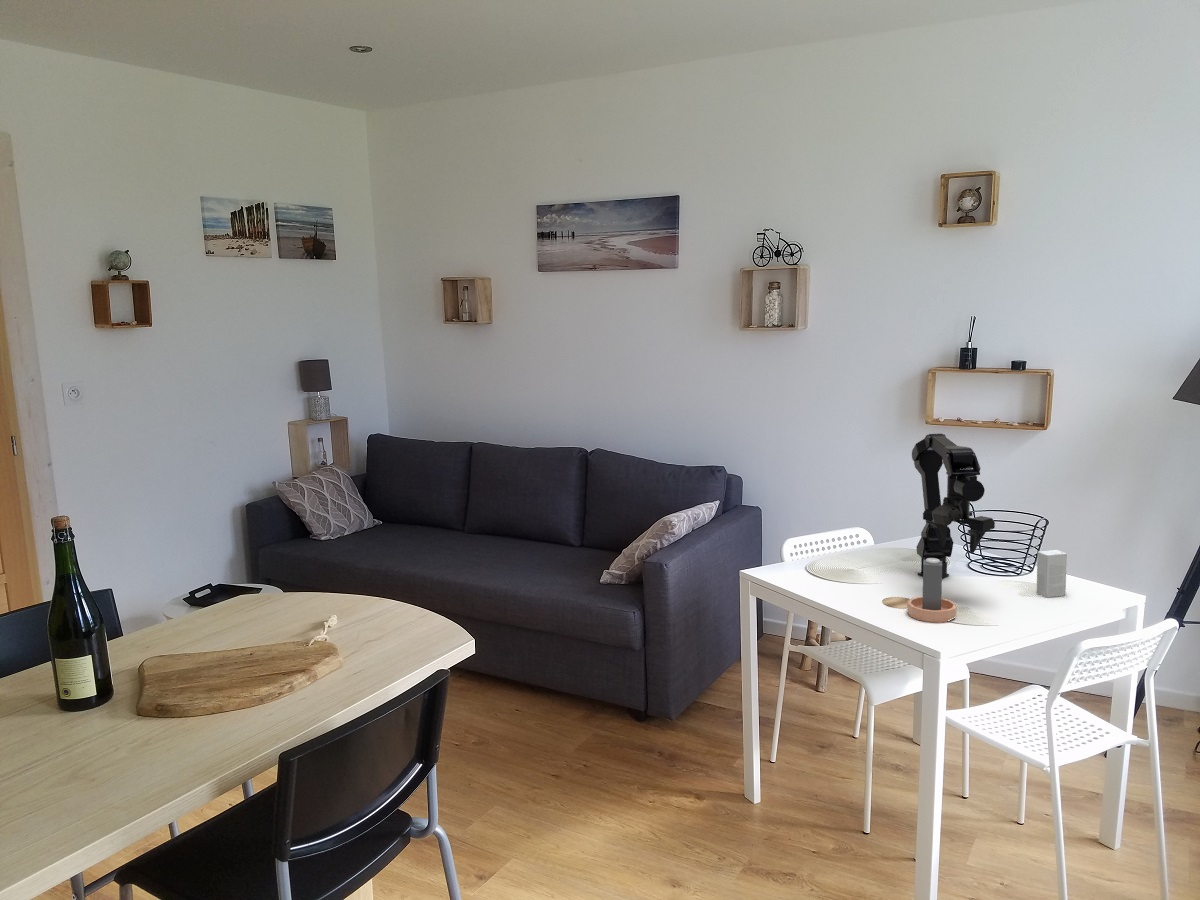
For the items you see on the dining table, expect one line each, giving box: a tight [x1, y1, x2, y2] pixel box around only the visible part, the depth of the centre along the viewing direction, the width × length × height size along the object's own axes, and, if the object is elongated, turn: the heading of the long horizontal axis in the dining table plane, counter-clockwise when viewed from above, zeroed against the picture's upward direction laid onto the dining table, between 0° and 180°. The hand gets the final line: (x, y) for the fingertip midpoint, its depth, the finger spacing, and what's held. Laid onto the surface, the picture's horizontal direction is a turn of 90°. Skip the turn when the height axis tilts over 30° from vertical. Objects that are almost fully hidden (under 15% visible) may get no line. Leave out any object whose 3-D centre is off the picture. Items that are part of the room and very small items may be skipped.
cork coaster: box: [881, 596, 910, 610], centre depth 232 cm, size 9×9×1 cm
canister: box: [922, 558, 943, 610], centre depth 221 cm, size 4×4×14 cm
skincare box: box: [1036, 549, 1068, 599], centre depth 233 cm, size 6×4×12 cm
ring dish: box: [906, 596, 958, 624], centre depth 222 cm, size 12×12×3 cm
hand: (957, 549), depth 235 cm, fingers open, 9 cm apart
